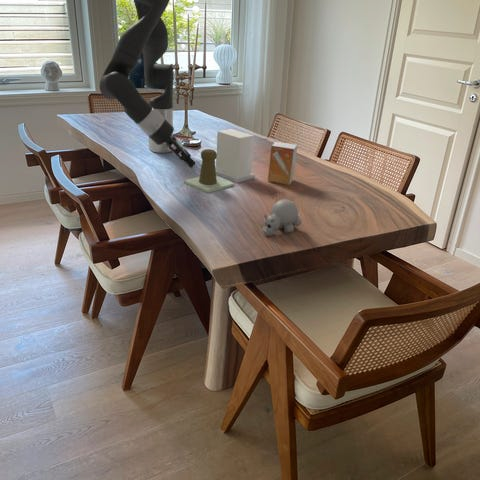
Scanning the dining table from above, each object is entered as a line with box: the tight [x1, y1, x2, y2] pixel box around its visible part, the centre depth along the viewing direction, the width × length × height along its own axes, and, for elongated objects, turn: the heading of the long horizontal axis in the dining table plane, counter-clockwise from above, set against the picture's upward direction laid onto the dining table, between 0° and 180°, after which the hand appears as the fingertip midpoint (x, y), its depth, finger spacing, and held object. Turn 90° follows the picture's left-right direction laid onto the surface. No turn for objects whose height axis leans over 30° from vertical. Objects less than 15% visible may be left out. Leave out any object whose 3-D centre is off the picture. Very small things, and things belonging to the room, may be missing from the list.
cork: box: [199, 148, 217, 185], centre depth 152 cm, size 6×6×11 cm
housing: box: [215, 128, 256, 184], centre depth 162 cm, size 13×9×15 cm
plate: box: [183, 175, 235, 194], centre depth 155 cm, size 12×12×1 cm
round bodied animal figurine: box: [262, 199, 302, 237], centre depth 123 cm, size 7×12×8 cm, turn 128°
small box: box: [267, 141, 298, 186], centre depth 160 cm, size 8×6×13 cm
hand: (191, 161), depth 150 cm, fingers open, 8 cm apart
